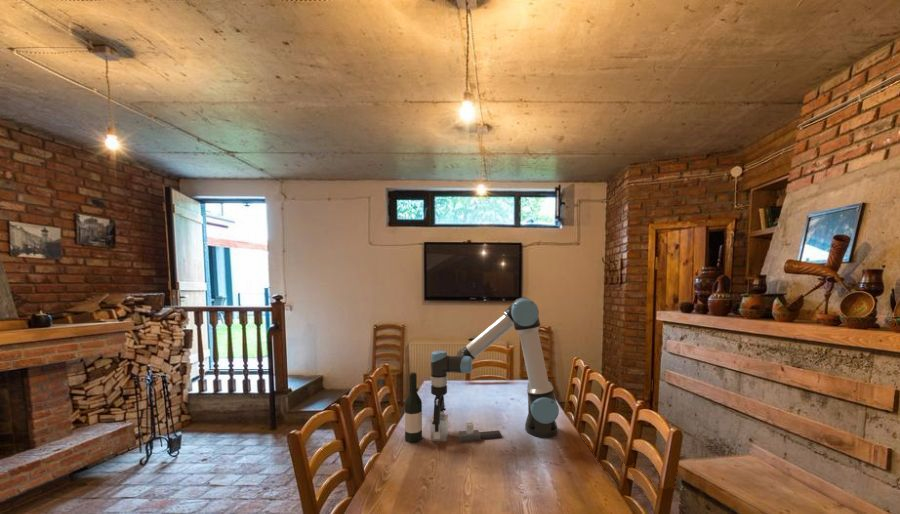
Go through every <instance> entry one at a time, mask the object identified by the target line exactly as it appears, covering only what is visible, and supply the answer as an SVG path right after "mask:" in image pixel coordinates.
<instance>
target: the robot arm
mask: <svg viewBox="0 0 900 514" xmlns="http://www.w3.org/2000/svg"><path fill="white" fill-rule="evenodd" d="M539 313H540V311H539V308H538V306H537V304H536V303H535V302H534V301H533V300H532V299H530V298H528V297H526V296H525V297H518V298H516V299H515V300H513V302H512V303H511V304H510V305H509V306H508V307H507V308H506V309H504V311H503V314H502V315H501V316H500V317H499V318H497V319H496V320H495V321H494V322H493V323H492V324H490V325H489V326H488V327H487V328H486V329H484V330H483V331H482V332H481V333H480V334H478V335H477V336H476V337H475V338H473V339H472V340H470V342H469V343H468V344H466V346H464V347H463V348H462V349H459V351H457V352H456V355H448V354H447V351H446V350H434V351H432V352H431V355H430V372H431V373H430V377H429V380H431V381H430V384H431V386H430V391H431V392H430V393H431V394H432V395H433V396H434V401H433V403H434V405H433V406H434V407H433V414H434V418H433V422H432V424H434V439H440V414H445V411H446V409H447V408H446V404H445V397H444V396H445V395H446V394H447V393H448V385H447V384H448V373H454V374H471V373H472V372H473V360H475V359H476V358H477V357H478V356H479V355H481V354H482V353H483V352H484V351H486V350H487V349H488V348H490V346H492V345H493V344H494V343H496V342H497V340H499V339H500V338H502V337H503V336H504V335H505V334H506V333H507V332H508V331H510V330H511V329H512V328H513V327H514V330H515V331H516V332H517V333H518V335H519V339H520V344H521V349H522V355H523V358H524V359H523V360H524V365H525V369H526V376H527V380H528V381H527V386H526V388H527V389H526V392H527V403H528V405H527V406H528V407H527V408H528V410H527V411H528V413H527V417H526V420H525V424H524V427H525V428H524V429H525V432H527V433H528V434H530V435H531V436H534V437H538V438H552V437H554V436H557V435H558V432H559V431H558V429H559V428H558V425H557V422H556V420H557V419H558V417H559V413H560V412H559V411H560V408H559V404H558V403H557V399H556V394H555V390H554V386H553V384H552V382H550V381H549V377H548V373H547V368H546V364H545V362H546V361H545V358H544V352H543V350H542V343H541V338H540V334H539V329H540V328H541V321H540V316H539V315H540V314H539Z"/></svg>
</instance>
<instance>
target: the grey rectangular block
mask: <svg viewBox="0 0 900 514" xmlns="http://www.w3.org/2000/svg"><path fill="white" fill-rule="evenodd" d="M433 418H434V413H433V414H432V415H431V419H430V441H431V442H447V441H448V438H449V437H448V436H449V415H448V414H445V413H444V414H440V439H434V424H432V422H433Z"/></svg>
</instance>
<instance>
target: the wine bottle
mask: <svg viewBox="0 0 900 514" xmlns="http://www.w3.org/2000/svg"><path fill="white" fill-rule="evenodd" d="M417 376H418V375H417V373H416V371H410V373H409V393H408V394H407V396H406V398H405V400H404V441H405V442H407V443H410V444H412V443H418V442H421V441H422V440H423V402H422V399H421V397H420V395H419V393H418V391H417V387H418V385H417V382H418V380H417Z"/></svg>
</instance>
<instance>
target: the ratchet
mask: <svg viewBox="0 0 900 514" xmlns="http://www.w3.org/2000/svg"><path fill="white" fill-rule="evenodd" d="M464 426H465V430H459V431H458V437H459V440H460V443H468V442H469V443H470V442H477V441H479V442H480V441H481V440H490V439H491V440H492V439H500V438H502V433H501V431H500V430H499V429H498V430H491V431H490V430H489V431H488V430H487V431H479V430H478V429H475V428H474V427H475V425H474V423H473V421H471V422H465V425H464Z"/></svg>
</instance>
